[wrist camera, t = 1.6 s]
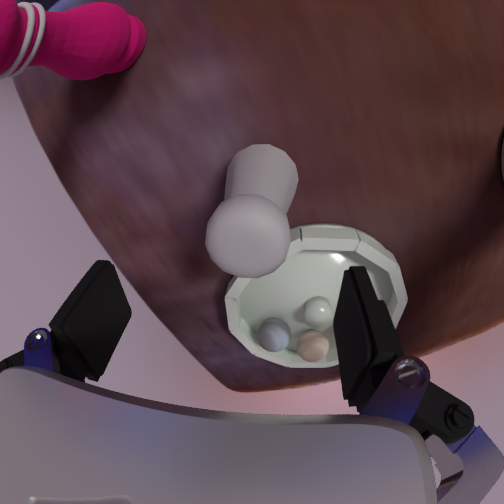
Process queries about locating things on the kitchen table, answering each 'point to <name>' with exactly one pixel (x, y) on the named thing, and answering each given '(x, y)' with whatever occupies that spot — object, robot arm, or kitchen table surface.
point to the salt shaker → (253, 213)
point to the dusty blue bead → (274, 335)
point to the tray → (311, 289)
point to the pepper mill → (69, 39)
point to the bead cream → (312, 346)
